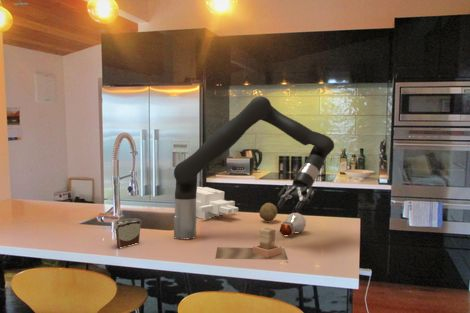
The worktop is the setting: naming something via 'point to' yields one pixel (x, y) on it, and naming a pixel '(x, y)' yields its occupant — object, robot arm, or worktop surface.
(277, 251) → the square tan tray
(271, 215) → the natural sponge
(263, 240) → the tan tall block
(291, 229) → the potion bottle
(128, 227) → the food container
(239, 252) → the walnut board
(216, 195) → the blocky voxel creature
